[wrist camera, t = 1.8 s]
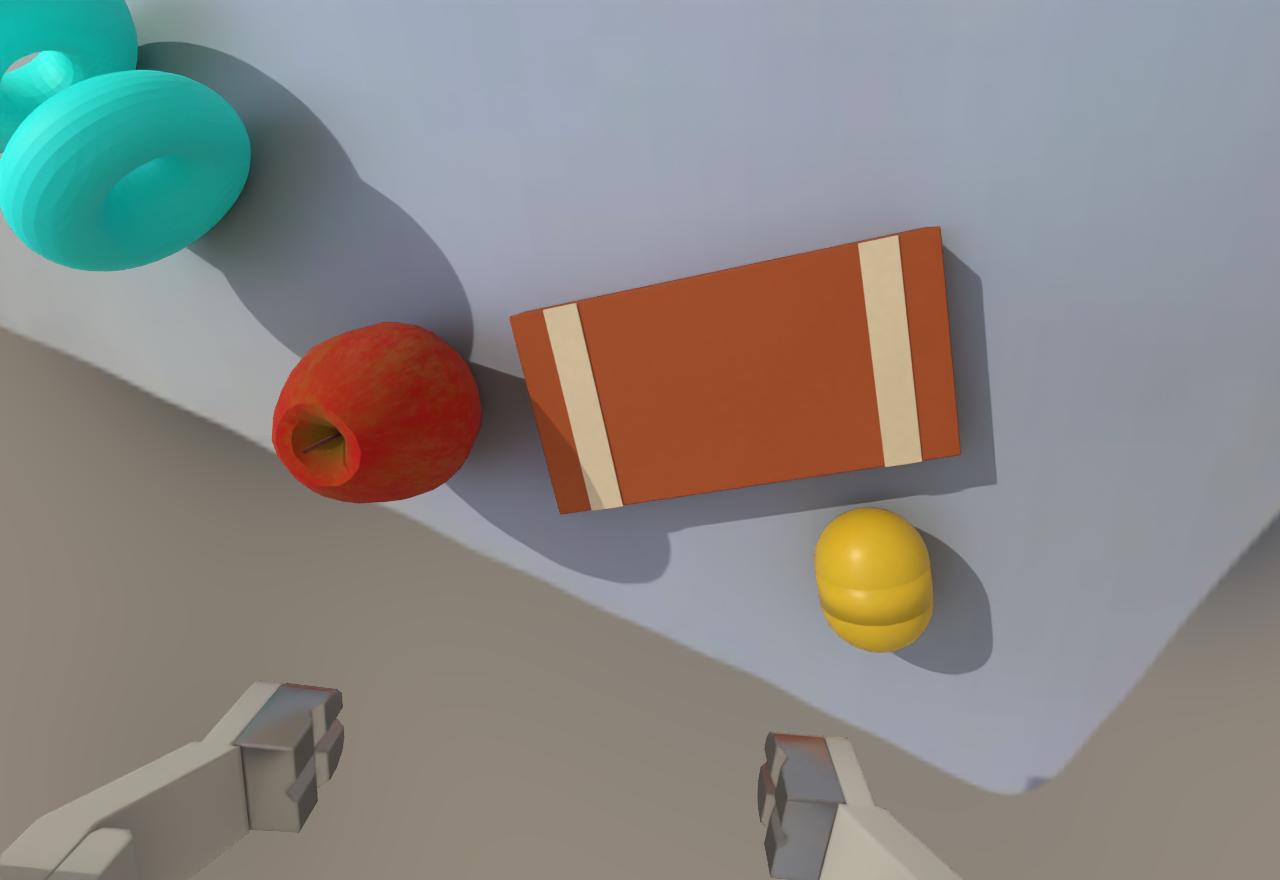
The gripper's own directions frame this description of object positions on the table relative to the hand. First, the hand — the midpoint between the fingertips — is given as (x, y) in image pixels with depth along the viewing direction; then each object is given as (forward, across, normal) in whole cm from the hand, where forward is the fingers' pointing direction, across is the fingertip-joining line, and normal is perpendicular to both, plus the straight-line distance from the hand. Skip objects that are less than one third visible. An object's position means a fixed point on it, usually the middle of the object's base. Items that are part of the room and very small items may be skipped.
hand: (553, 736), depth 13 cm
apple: (+24, +10, 0) cm, 26 cm away
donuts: (+26, +23, -11) cm, 36 cm away
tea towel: (+22, -5, -3) cm, 23 cm away
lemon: (+21, -13, +6) cm, 25 cm away
